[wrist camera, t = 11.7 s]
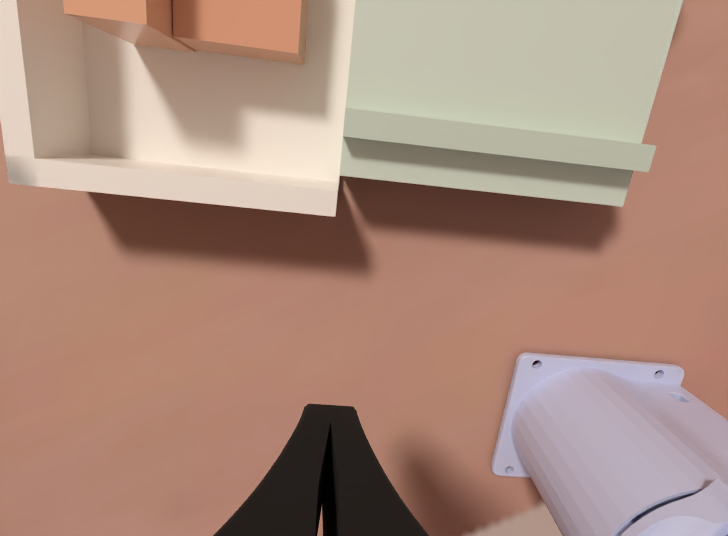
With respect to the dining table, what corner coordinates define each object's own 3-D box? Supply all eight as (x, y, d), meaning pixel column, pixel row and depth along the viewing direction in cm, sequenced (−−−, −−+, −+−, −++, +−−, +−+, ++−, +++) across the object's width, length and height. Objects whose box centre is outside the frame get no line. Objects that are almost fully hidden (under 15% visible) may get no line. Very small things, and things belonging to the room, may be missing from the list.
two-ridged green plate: (669, -128, 17) (762, -204, 13) (583, 197, 20) (636, 210, 17) (372, -180, 16) (380, -278, 12) (340, 170, 20) (339, 177, 16)
